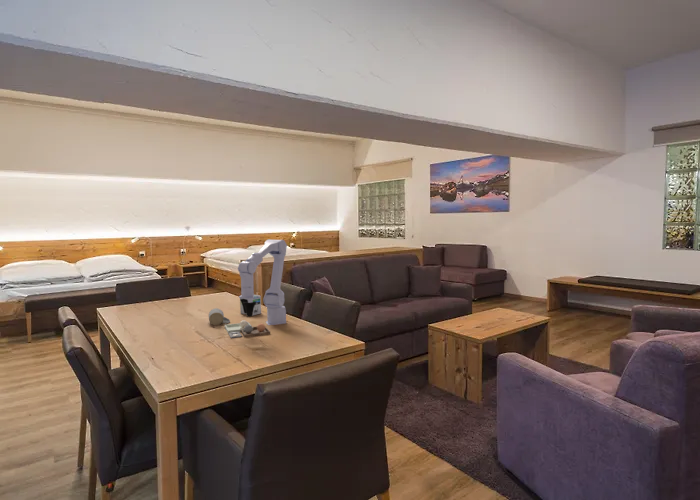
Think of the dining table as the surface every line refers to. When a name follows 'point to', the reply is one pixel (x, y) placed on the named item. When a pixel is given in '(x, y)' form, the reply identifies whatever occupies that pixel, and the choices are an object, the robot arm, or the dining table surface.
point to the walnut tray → (255, 332)
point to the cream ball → (243, 323)
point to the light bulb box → (256, 308)
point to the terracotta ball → (261, 327)
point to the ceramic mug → (217, 317)
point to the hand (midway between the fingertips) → (248, 314)
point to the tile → (235, 335)
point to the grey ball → (248, 329)
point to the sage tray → (234, 327)
